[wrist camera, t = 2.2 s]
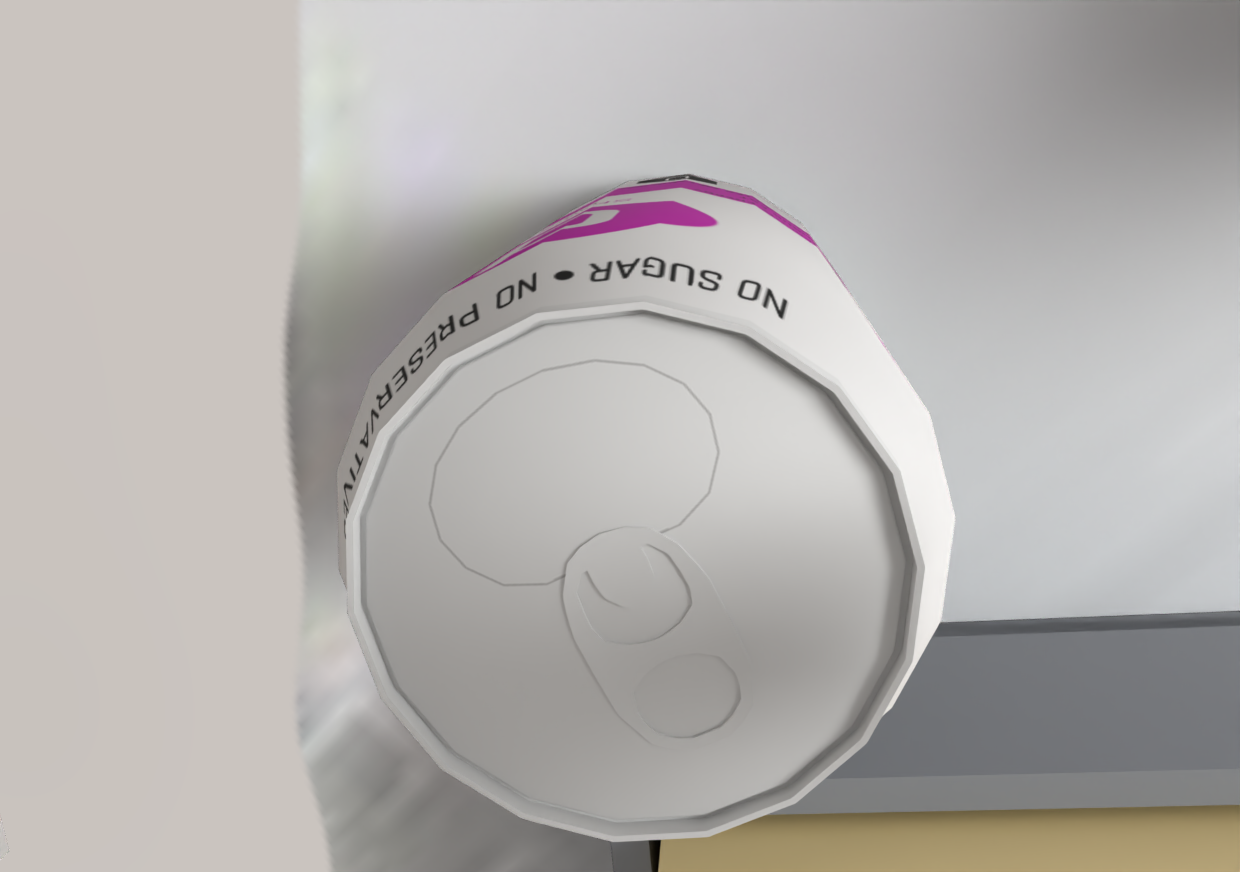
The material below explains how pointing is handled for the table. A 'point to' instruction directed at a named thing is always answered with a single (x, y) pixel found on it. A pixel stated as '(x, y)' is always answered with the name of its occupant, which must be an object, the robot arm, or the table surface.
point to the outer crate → (1046, 722)
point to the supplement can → (645, 519)
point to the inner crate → (972, 842)
